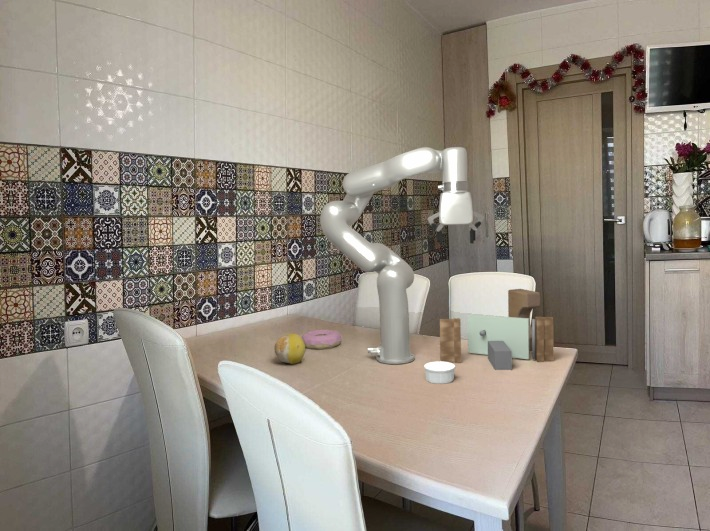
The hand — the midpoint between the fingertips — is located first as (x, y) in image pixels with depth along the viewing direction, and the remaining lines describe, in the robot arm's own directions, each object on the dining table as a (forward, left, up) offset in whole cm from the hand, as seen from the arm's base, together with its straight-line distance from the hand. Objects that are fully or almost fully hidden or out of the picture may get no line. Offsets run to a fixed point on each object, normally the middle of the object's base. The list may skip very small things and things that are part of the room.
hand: (456, 243), depth 162 cm
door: (+14, +6, -38) cm, 41 cm away
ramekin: (-7, -16, -39) cm, 42 cm away
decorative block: (+25, +19, -38) cm, 50 cm away
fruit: (-55, +3, -38) cm, 67 cm away
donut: (-48, +27, -39) cm, 67 cm away
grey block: (+13, -1, -38) cm, 41 cm away
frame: (+12, +2, -38) cm, 40 cm away
